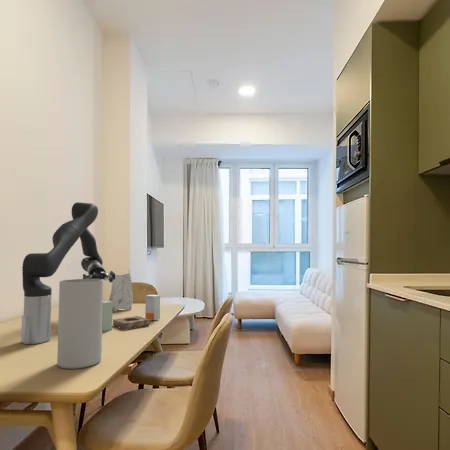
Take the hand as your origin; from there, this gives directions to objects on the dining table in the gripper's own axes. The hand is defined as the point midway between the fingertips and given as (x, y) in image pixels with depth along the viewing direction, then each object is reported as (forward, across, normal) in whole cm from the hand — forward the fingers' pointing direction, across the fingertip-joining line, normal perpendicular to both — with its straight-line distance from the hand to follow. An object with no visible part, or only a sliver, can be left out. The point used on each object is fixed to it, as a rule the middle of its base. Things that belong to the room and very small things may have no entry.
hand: (101, 281), depth 157 cm
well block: (+10, +11, +19) cm, 24 cm away
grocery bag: (-47, +17, +34) cm, 60 cm away
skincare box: (+2, +23, +22) cm, 32 cm away
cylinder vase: (+53, -14, +7) cm, 55 cm away
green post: (+12, -1, +18) cm, 22 cm away
